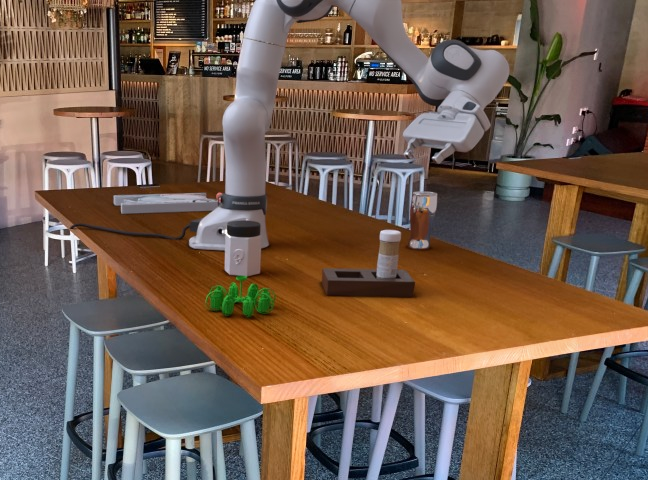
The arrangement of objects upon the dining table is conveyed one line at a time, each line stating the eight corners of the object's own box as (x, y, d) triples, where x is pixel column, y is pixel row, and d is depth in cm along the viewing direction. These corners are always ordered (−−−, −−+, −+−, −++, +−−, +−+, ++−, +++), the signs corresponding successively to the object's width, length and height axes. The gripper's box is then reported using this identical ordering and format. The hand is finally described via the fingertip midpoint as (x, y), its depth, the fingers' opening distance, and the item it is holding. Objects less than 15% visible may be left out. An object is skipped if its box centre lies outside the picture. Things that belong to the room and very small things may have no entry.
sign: (220, 210, 273) (206, 200, 291) (220, 201, 272) (206, 192, 290) (121, 213, 266) (113, 203, 284) (121, 204, 264) (113, 195, 282)
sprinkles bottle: (386, 286, 183) (392, 228, 178) (399, 291, 179) (405, 232, 174) (370, 288, 181) (376, 230, 176) (383, 293, 178) (389, 234, 172)
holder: (413, 297, 175) (415, 281, 174) (326, 295, 176) (328, 280, 174) (403, 284, 185) (404, 269, 184) (321, 282, 186) (322, 268, 184)
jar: (220, 274, 192) (221, 225, 187) (228, 267, 199) (230, 219, 195) (256, 277, 189) (258, 227, 185) (263, 269, 197) (265, 221, 192)
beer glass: (432, 251, 218) (439, 195, 212) (406, 249, 219) (412, 194, 213) (430, 245, 224) (437, 191, 218) (405, 244, 225) (411, 190, 219)
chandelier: (255, 324, 156) (256, 290, 154) (191, 312, 163) (191, 279, 161) (288, 306, 168) (290, 274, 165) (227, 295, 175) (227, 264, 173)
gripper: (419, 101, 190) (384, 145, 190) (485, 106, 174) (446, 154, 173) (431, 120, 194) (396, 163, 193) (496, 126, 177) (458, 173, 177)
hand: (420, 159), depth 183 cm, fingers open, 8 cm apart
